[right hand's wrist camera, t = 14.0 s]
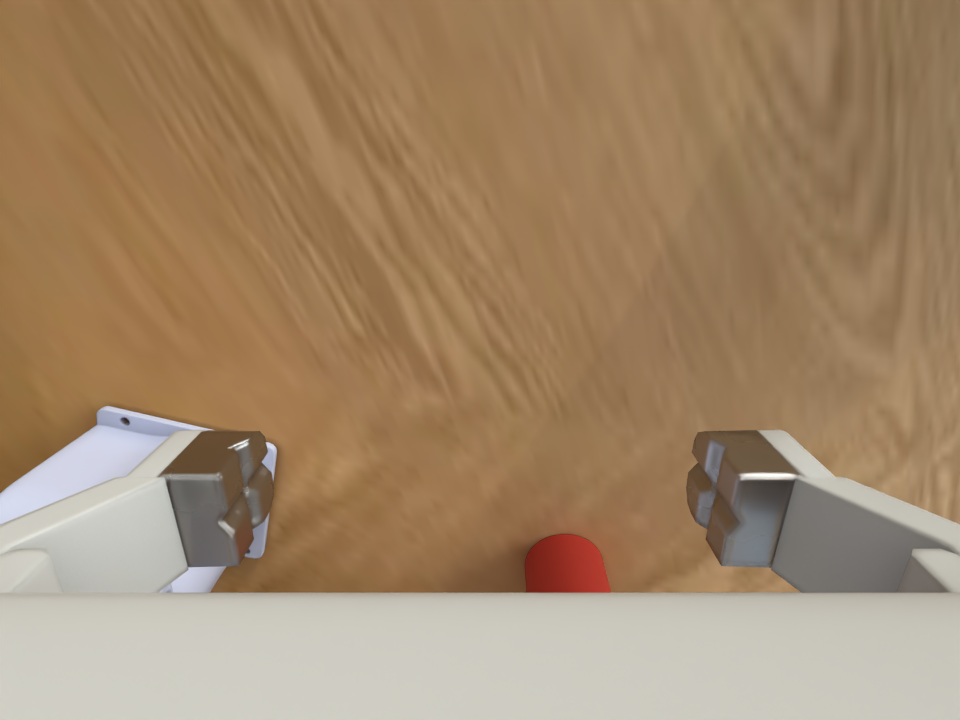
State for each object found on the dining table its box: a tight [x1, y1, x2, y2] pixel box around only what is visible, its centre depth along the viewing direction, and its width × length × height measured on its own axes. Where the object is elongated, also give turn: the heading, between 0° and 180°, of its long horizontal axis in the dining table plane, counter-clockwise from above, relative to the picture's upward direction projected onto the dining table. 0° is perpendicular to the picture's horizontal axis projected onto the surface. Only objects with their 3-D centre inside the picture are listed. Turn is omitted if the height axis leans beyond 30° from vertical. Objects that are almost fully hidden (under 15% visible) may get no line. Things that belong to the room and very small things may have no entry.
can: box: [525, 534, 611, 593], centre depth 29 cm, size 5×5×5 cm
